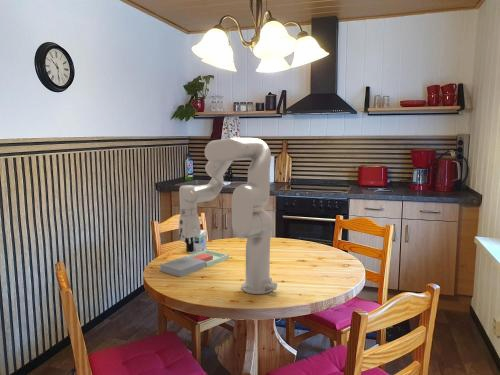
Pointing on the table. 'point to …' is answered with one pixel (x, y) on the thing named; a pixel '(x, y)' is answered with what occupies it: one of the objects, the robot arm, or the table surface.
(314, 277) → the table surface
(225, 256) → the tray
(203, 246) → the light bulb box
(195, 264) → the grey flat slab
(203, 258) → the salmon red thick block
